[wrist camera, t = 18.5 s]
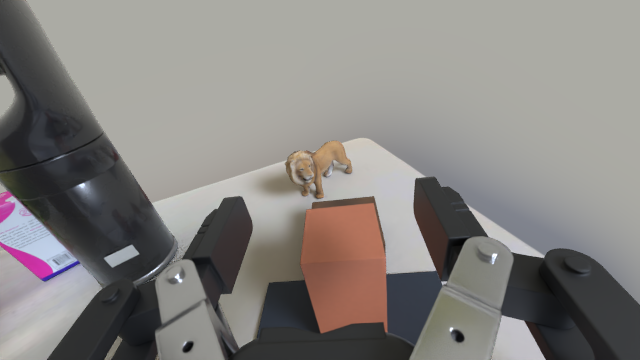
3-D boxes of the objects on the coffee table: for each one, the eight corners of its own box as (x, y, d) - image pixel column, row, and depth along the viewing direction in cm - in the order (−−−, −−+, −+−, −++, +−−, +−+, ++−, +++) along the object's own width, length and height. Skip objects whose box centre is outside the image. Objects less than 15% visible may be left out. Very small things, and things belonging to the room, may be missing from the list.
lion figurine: (315, 216, 37) (304, 162, 33) (287, 207, 40) (272, 157, 35) (358, 165, 47) (354, 118, 42) (333, 161, 50) (326, 117, 45)
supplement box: (91, 237, 42) (37, 178, 35) (92, 257, 37) (33, 194, 31) (45, 259, 39) (-21, 199, 33) (42, 283, 35) (-35, 220, 28)
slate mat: (234, 449, 18) (232, 447, 18) (269, 284, 29) (268, 282, 29) (507, 450, 16) (509, 448, 16) (436, 273, 27) (436, 270, 27)
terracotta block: (324, 346, 22) (299, 264, 16) (325, 290, 27) (306, 209, 21) (387, 344, 22) (385, 257, 16) (377, 286, 26) (373, 202, 20)
